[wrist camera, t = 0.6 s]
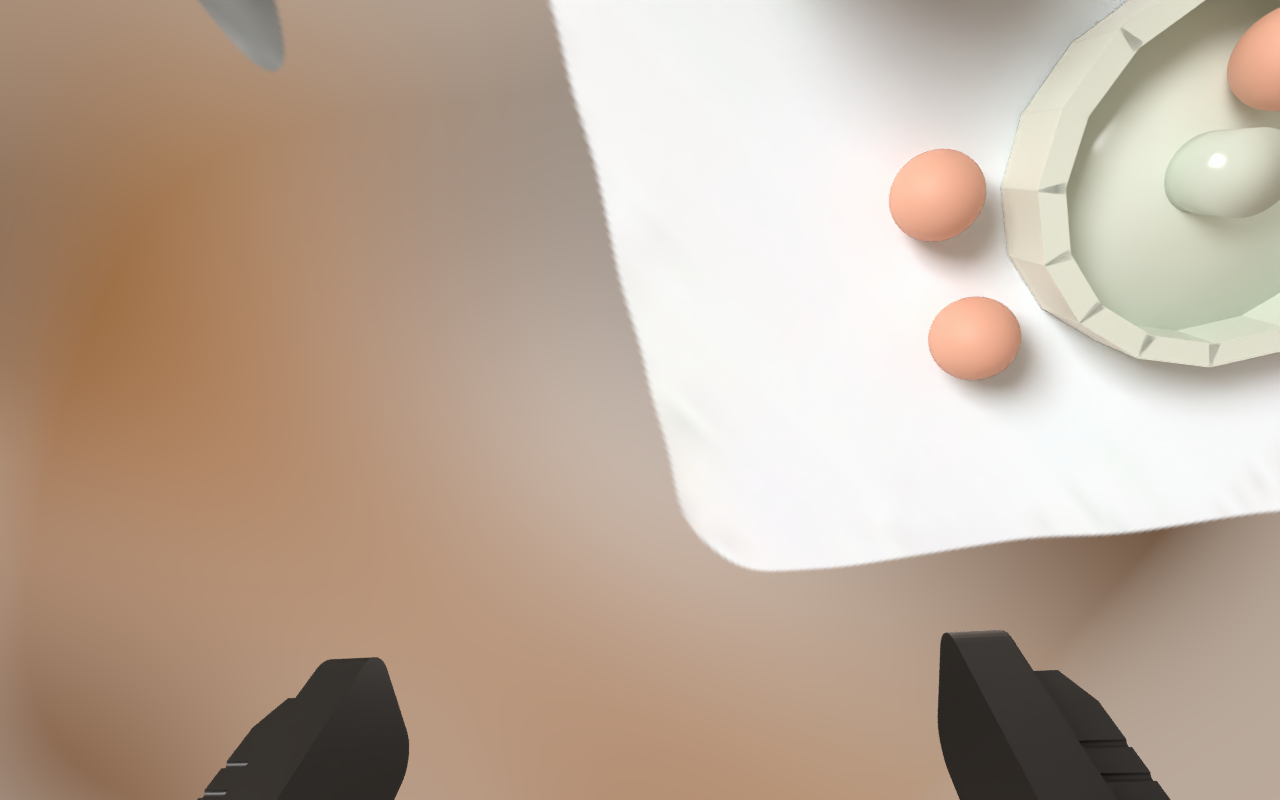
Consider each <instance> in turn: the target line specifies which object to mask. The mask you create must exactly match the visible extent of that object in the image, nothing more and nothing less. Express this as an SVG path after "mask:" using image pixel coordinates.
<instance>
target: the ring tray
mask: <svg viewBox="0 0 1280 800" xmlns="http://www.w3.org/2000/svg"><path fill="white" fill-rule="evenodd" d="M1279 7H1280V0H1129V1H1127V2H1126V3H1125V4H1123V5H1122V6H1121V7H1119V8H1118V9H1117V10H1115V11H1114V12H1113V13H1111V14H1110V15H1109V16H1107V17H1106V18H1104V19H1103V20H1102V21H1100V22H1099V23H1098V24H1096V25H1095V26H1094V27H1092V28H1091V29H1090V30H1088V31H1087V32H1086V33H1084V34H1083V35H1082V36H1080V37H1079V38H1078V39H1076V40H1075V41H1074V42H1072V43H1071V44H1070V46H1069V47H1068V49H1067V50H1066V52H1065V53H1064V54H1063V56H1062V57H1061V59H1060V60H1059V62H1058V63H1057V64H1056V66H1055V67H1054V69H1053V70H1052V72H1051V73H1050V74H1049V76H1048V77H1047V79H1046V80H1045V81H1044V83H1043V84H1042V86H1041V87H1040V89H1039V90H1038V91H1037V93H1036V94H1035V96H1034V97H1033V99H1032V100H1031V101H1030V103H1029V104H1028V106H1027V107H1026V109H1025V110H1024V111H1023V113H1022V115H1021V118H1020V122H1019V125H1018V129H1017V132H1016V136H1015V139H1014V143H1013V146H1012V150H1011V153H1010V157H1009V160H1008V164H1007V167H1006V171H1005V174H1004V178H1003V181H1002V185H1001V188H1000V189H1001V196H1002V205H1003V214H1004V223H1005V233H1006V242H1007V251H1008V256H1009V258H1010V259H1011V261H1012V263H1013V264H1014V266H1015V267H1016V269H1017V271H1018V272H1019V274H1020V275H1021V277H1022V279H1023V280H1024V282H1025V283H1026V285H1027V287H1028V288H1029V290H1030V291H1031V293H1032V295H1033V296H1034V298H1035V299H1036V301H1037V303H1038V304H1039V306H1040V308H1042V309H1044V310H1046V311H1047V312H1049V313H1050V314H1052V315H1054V316H1055V317H1057V318H1059V319H1060V320H1062V321H1064V322H1065V323H1067V324H1069V325H1070V326H1072V327H1074V328H1075V329H1077V330H1078V331H1080V332H1082V333H1083V334H1085V335H1087V336H1088V337H1090V338H1092V339H1093V340H1095V341H1098V342H1100V343H1102V344H1105V345H1107V346H1109V347H1112V348H1114V349H1116V350H1119V351H1121V352H1123V353H1125V354H1128V355H1130V356H1132V357H1135V358H1137V359H1146V360H1154V361H1162V362H1170V363H1178V364H1186V365H1193V366H1201V367H1209V368H1211V367H1215V366H1219V365H1224V364H1228V363H1233V362H1237V361H1241V360H1246V359H1250V358H1255V357H1259V356H1264V355H1268V354H1272V353H1277V352H1280V111H1264V110H1259V109H1255V108H1252V107H1250V106H1248V105H1246V104H1244V103H1242V102H1241V101H1240V100H1239V99H1238V98H1237V97H1236V96H1235V95H1234V94H1233V92H1232V91H1231V89H1230V87H1229V84H1228V79H1227V66H1228V61H1229V58H1230V55H1231V53H1232V51H1233V49H1234V47H1235V45H1236V43H1237V42H1238V41H1239V39H1240V38H1241V37H1242V35H1243V34H1244V33H1245V32H1246V31H1247V30H1248V29H1249V28H1250V27H1251V26H1252V25H1253V24H1254V23H1255V22H1257V21H1258V20H1259V19H1261V18H1262V17H1263V16H1265V15H1266V14H1268V13H1270V12H1271V11H1273V10H1275V9H1277V8H1279Z"/></svg>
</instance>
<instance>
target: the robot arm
mask: <svg viewBox="0 0 1280 800" xmlns="http://www.w3.org/2000/svg"><path fill="white" fill-rule="evenodd" d="M938 730H939V737H940V743H941V747H942V752H943V756H944V760H945V763H946V766H947V769H948V772H949V774H950V777H951V779H952V782H953V784H954V787H955V789H956V791H957V794H958V796H959V799H960V800H1170V799H1169V797H1168V796H1167V795H1166V793H1165V792H1164V790H1163V789H1162V788H1161V786H1160V785H1159V784H1158V782H1157V781H1153V780H1152V778H1151V775H1150V771H1149V770H1148V768H1147V767H1146V766H1145V764H1144V763H1143V762H1142V760H1141V759H1140V757H1139V756H1138V755H1137V753H1136V752H1135V751H1134V749H1133V748H1132V747H1128V745H1127V743H1126V738H1125V737H1124V736H1123V734H1122V733H1121V732H1120V730H1119V729H1118V727H1117V726H1116V725H1115V723H1114V722H1113V721H1112V719H1111V718H1110V716H1109V715H1108V714H1107V713H1106V711H1105V710H1104V708H1103V707H1102V706H1101V704H1100V703H1099V701H1097V700H1096V699H1095V698H1094V697H1092V696H1091V695H1090V694H1088V693H1087V692H1086V691H1084V690H1083V689H1082V688H1080V687H1079V686H1078V685H1077V684H1075V683H1074V682H1073V681H1071V680H1070V679H1069V678H1067V677H1066V676H1065V675H1063V674H1062V673H1061V672H1059V671H1058V670H1050V671H1049V670H1048V671H1033V670H1032V668H1031V667H1030V665H1029V664H1028V662H1027V660H1026V659H1025V657H1024V656H1023V654H1022V653H1021V651H1020V650H1019V648H1018V647H1017V645H1016V643H1015V642H1014V640H1013V639H1012V638H1011V636H1010V635H1009V634H1008V633H1007V632H1005V631H1003V630H993V631H973V632H950V633H944V634H943V636H942V639H941V645H940V670H939V697H938ZM408 757H409V739H408V734H407V730H406V727H405V724H404V721H403V718H402V715H401V711H400V709H399V706H398V702H397V699H396V696H395V693H394V690H393V686H392V683H391V680H390V677H389V674H388V671H387V668H386V665H385V664H384V662H383V661H382V660H381V659H379V658H375V657H373V658H352V659H330V660H327V661H325V662H323V663H322V664H321V665H320V666H319V667H318V668H317V669H316V671H315V672H314V674H313V675H312V676H311V677H310V679H309V680H308V681H307V683H306V684H305V686H304V687H303V688H302V690H301V691H300V692H299V694H298V695H297V697H296V698H288V699H287V700H285V701H284V702H283V703H282V704H281V705H279V706H278V707H277V708H276V709H275V710H273V711H272V712H271V713H270V714H268V715H267V716H266V717H265V718H264V719H262V720H261V721H260V722H259V723H258V724H256V725H255V726H254V727H253V728H252V729H251V731H250V732H249V733H248V735H247V736H246V737H245V738H244V740H243V741H242V742H241V744H240V745H239V746H238V748H237V749H236V750H235V751H234V753H233V754H232V755H231V757H230V758H229V759H228V761H227V766H226V768H223V769H221V770H220V771H219V772H218V774H217V775H216V776H215V777H214V779H213V780H212V781H211V783H210V784H209V785H208V787H207V788H206V789H205V794H204V797H203V798H198V800H394V799H395V797H396V795H397V792H398V790H399V788H400V786H401V784H402V781H403V779H404V776H405V773H406V769H407V764H408Z"/></svg>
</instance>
